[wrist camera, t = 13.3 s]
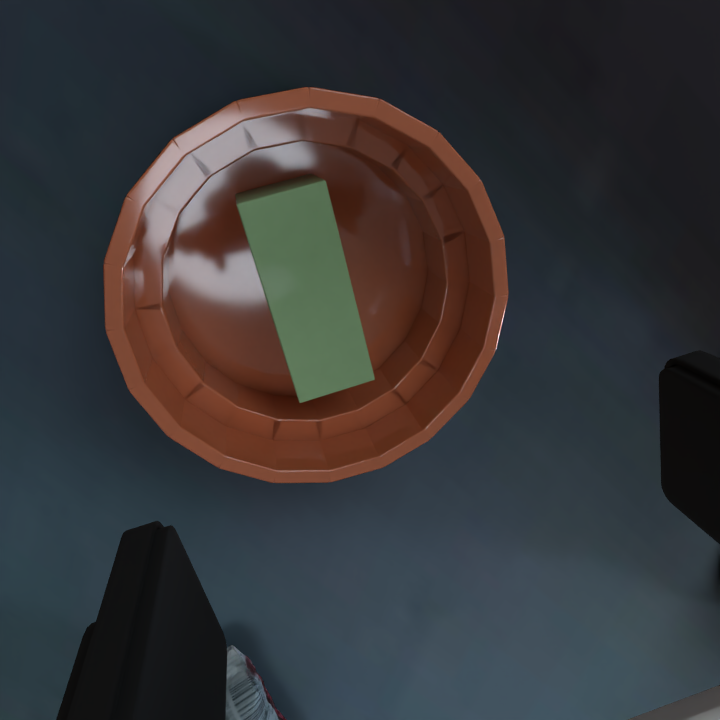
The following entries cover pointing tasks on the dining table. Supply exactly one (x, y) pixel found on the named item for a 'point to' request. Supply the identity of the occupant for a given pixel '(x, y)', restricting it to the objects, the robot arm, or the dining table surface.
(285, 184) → the bar
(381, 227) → the bowl
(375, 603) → the dining table surface
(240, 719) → the packaged food
